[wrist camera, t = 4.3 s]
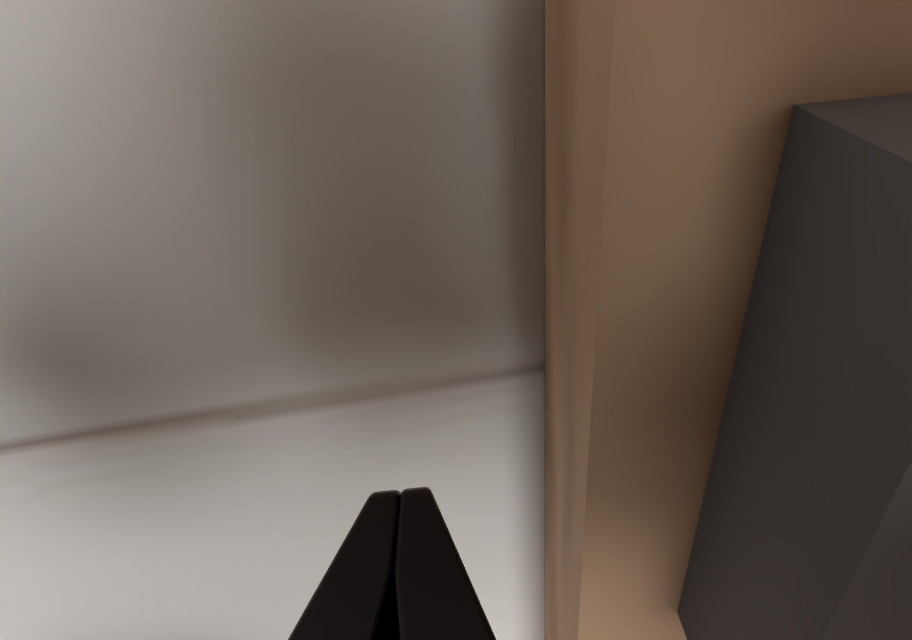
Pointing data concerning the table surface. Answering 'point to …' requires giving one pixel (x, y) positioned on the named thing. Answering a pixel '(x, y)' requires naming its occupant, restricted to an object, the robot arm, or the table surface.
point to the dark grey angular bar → (819, 399)
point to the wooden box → (664, 263)
